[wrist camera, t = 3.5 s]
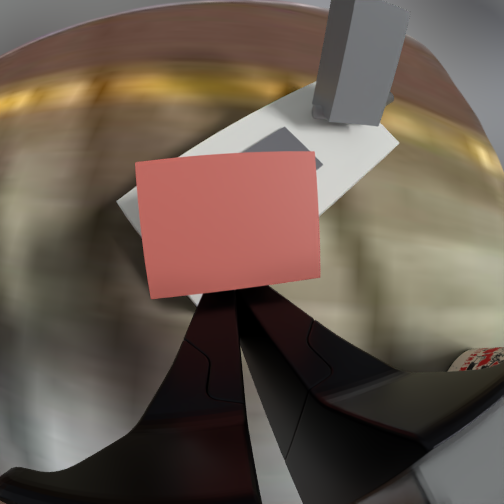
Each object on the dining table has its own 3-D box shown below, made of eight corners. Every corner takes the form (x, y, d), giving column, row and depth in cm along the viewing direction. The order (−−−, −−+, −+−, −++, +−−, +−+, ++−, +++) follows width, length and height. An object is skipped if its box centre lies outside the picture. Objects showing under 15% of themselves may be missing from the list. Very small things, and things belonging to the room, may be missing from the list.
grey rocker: (380, 132, 18) (415, 13, 11) (321, 128, 17) (350, -10, 10) (361, 114, 20) (388, 6, 13) (305, 109, 19) (327, -13, 12)
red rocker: (252, 230, 16) (334, 275, 7) (164, 240, 15) (134, 301, 6) (249, 176, 16) (329, 151, 7) (159, 183, 15) (117, 165, 6)
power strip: (204, 315, 17) (204, 313, 14) (126, 216, 18) (115, 200, 15) (411, 133, 24) (426, 118, 22) (353, 77, 25) (364, 60, 22)
